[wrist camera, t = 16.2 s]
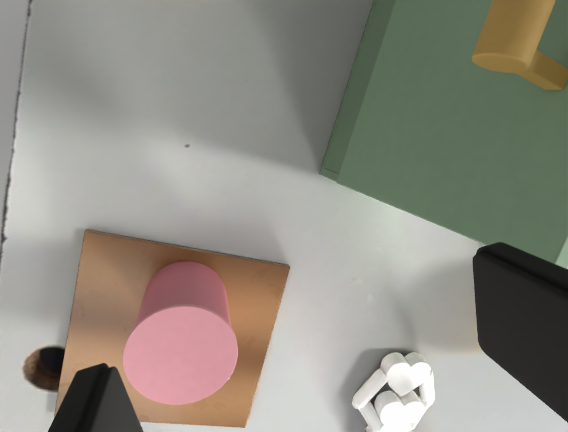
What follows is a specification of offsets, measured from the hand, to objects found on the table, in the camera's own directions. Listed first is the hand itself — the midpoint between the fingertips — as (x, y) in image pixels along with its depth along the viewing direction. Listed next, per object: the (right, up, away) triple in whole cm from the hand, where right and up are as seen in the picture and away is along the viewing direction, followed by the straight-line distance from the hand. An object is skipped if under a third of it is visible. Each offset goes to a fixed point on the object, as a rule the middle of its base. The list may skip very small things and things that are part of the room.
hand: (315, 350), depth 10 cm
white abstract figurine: (+10, -15, +29) cm, 35 cm away
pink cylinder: (-9, -3, +21) cm, 23 cm away
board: (-10, -7, +23) cm, 26 cm away
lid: (+9, +12, +9) cm, 17 cm away
